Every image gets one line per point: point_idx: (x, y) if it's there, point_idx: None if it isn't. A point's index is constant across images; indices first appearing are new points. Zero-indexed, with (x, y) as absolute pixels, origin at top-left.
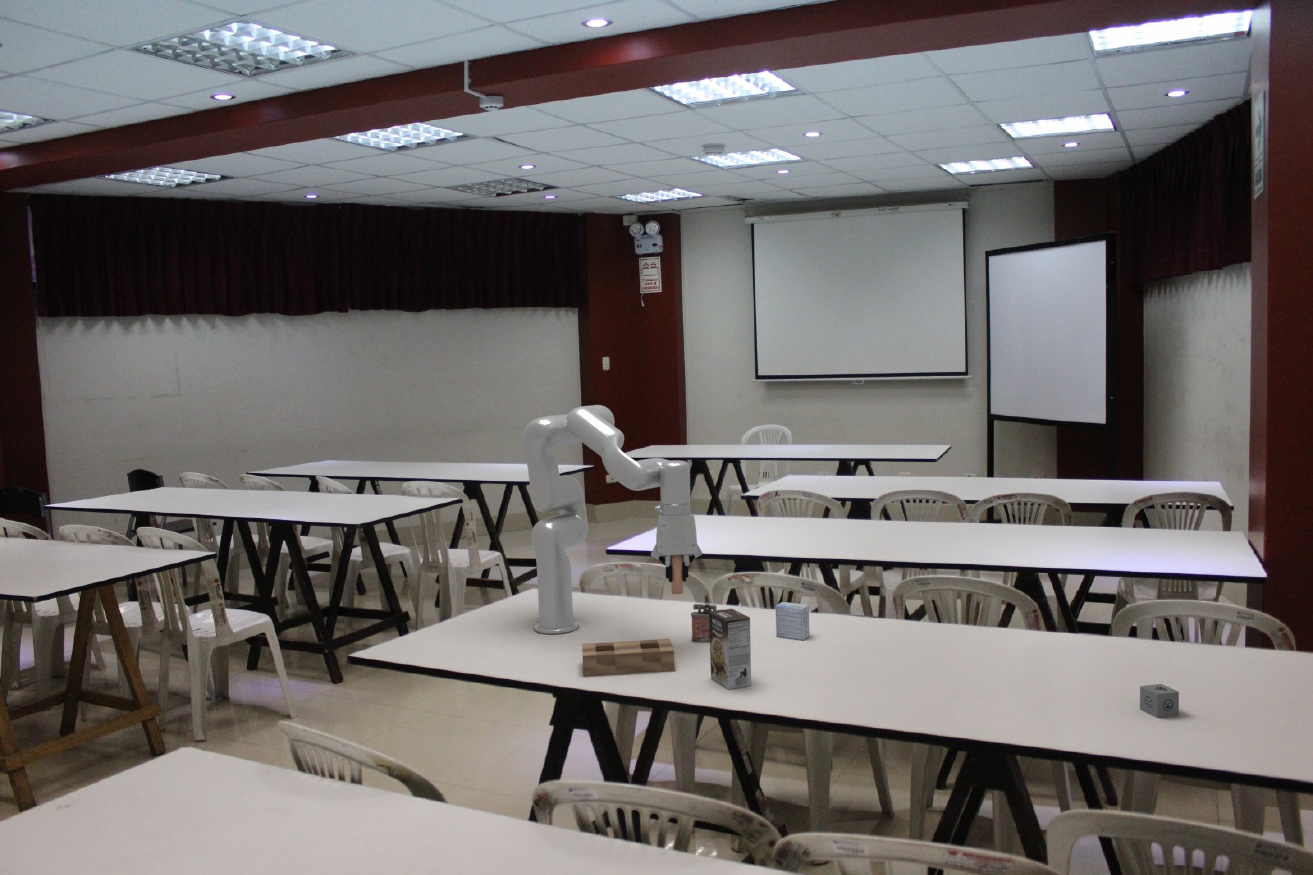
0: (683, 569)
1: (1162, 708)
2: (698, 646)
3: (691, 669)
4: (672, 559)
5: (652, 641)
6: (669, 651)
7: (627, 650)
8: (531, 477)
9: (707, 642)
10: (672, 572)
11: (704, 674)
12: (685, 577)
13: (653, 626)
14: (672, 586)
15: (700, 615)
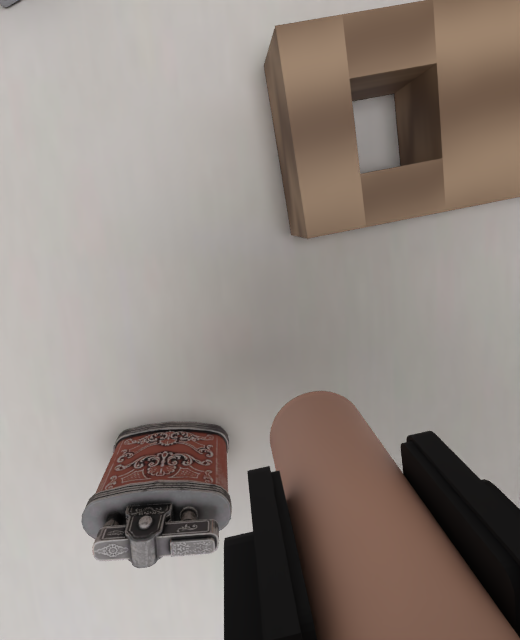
0: (300, 587)
1: None
2: (197, 378)
3: (197, 87)
4: None
5: (386, 194)
6: (298, 22)
7: (500, 42)
8: None
9: (168, 422)
10: (447, 541)
11: (134, 13)
12: (258, 496)
13: None
14: (376, 436)
15: (182, 487)
